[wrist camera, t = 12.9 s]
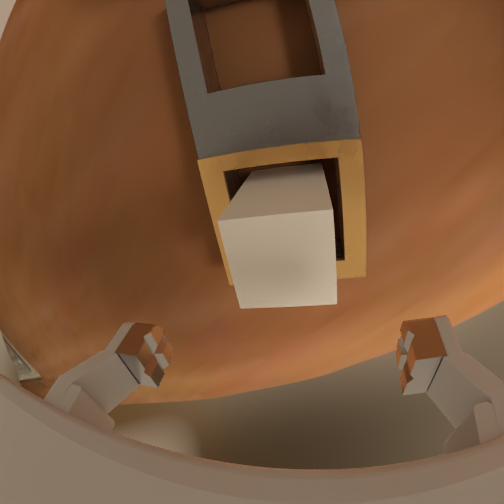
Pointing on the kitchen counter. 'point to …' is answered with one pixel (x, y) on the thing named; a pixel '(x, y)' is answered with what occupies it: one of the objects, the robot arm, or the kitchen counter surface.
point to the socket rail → (275, 121)
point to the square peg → (281, 238)
